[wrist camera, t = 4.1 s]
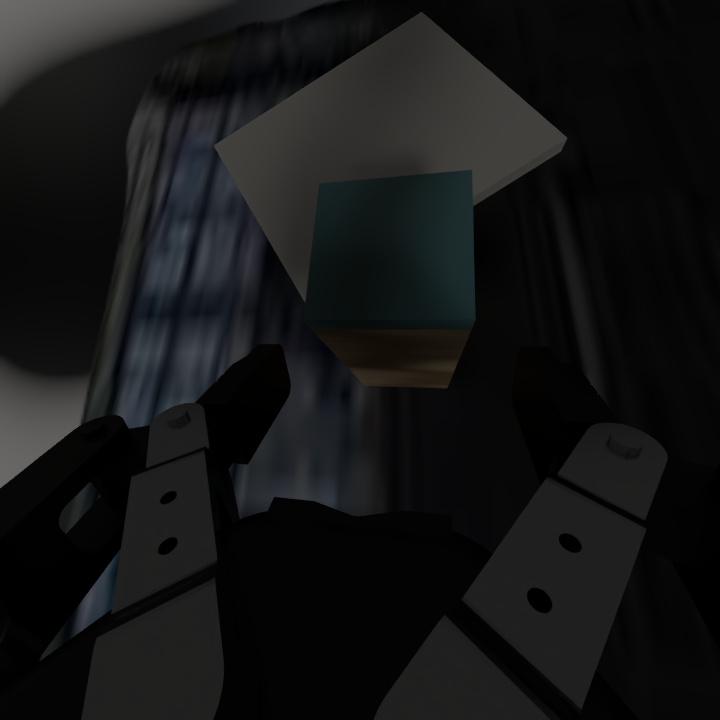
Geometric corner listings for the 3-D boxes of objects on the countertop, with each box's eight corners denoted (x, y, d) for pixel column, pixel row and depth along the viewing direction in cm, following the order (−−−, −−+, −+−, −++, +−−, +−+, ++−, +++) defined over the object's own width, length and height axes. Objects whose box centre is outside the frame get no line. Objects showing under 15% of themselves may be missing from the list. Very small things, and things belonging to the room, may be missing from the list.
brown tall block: (447, 310, 21) (472, 169, 10) (447, 388, 19) (475, 319, 9) (369, 310, 22) (319, 183, 11) (364, 385, 20) (303, 320, 10)
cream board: (421, 26, 27) (421, 11, 26) (560, 151, 22) (567, 137, 21) (220, 156, 28) (213, 145, 27) (309, 308, 22) (304, 302, 22)
